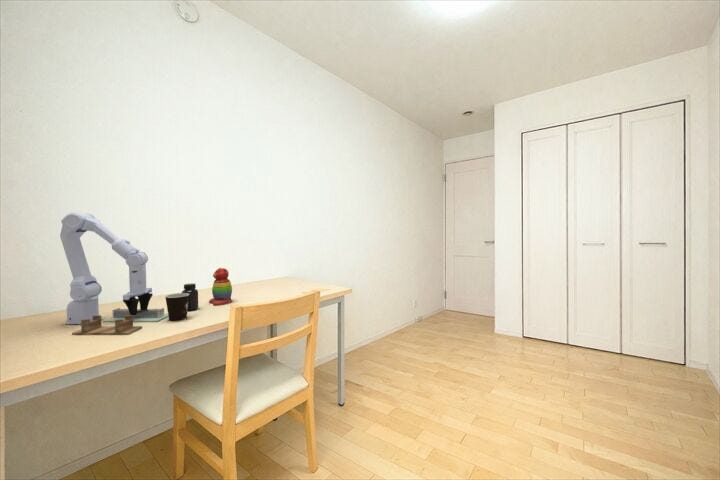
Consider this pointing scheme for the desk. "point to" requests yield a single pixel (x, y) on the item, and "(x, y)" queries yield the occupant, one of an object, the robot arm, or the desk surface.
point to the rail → (139, 313)
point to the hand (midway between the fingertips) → (138, 312)
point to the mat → (139, 319)
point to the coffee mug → (177, 306)
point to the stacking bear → (221, 288)
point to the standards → (107, 327)
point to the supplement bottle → (191, 296)
